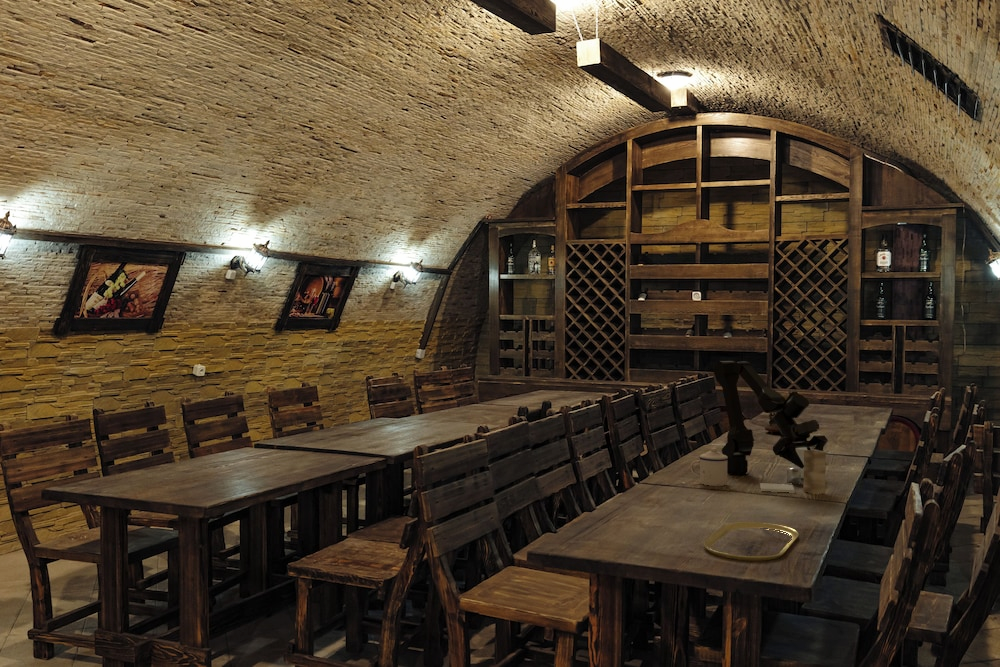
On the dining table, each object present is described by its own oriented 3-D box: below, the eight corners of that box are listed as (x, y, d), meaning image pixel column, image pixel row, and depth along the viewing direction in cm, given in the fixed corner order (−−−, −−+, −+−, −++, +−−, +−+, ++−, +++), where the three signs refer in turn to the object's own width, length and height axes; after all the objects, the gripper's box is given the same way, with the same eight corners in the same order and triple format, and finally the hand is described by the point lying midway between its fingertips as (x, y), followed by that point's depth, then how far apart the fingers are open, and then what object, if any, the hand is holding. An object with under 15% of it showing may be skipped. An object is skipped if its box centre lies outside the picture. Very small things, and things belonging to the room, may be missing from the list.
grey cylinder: (787, 484, 297) (787, 469, 297) (786, 481, 302) (786, 466, 301) (801, 485, 296) (801, 469, 296) (800, 482, 301) (800, 467, 300)
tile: (761, 491, 285) (761, 488, 285) (759, 486, 294) (759, 483, 294) (794, 493, 283) (794, 490, 283) (792, 487, 291) (792, 484, 291)
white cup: (816, 479, 306) (817, 449, 306) (792, 478, 308) (792, 448, 307) (813, 475, 314) (814, 446, 313) (789, 474, 315) (790, 445, 315)
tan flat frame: (804, 533, 234) (804, 527, 234) (776, 567, 204) (776, 560, 203) (731, 524, 243) (731, 518, 243) (693, 556, 212) (693, 549, 212)
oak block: (803, 491, 285) (804, 450, 285) (814, 490, 287) (814, 449, 287) (814, 494, 281) (815, 452, 281) (825, 493, 283) (825, 451, 283)
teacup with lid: (729, 482, 300) (729, 447, 299) (726, 487, 291) (726, 451, 291) (692, 479, 304) (692, 444, 303) (688, 484, 295) (688, 448, 295)
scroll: (766, 435, 411) (767, 390, 410) (762, 430, 425) (763, 387, 424) (800, 436, 408) (801, 391, 408) (795, 431, 423) (796, 388, 422)
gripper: (779, 412, 284) (805, 452, 275) (823, 410, 293) (850, 449, 283) (761, 434, 292) (786, 474, 282) (805, 431, 300) (830, 470, 290)
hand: (814, 466), depth 284 cm, fingers open, 9 cm apart
